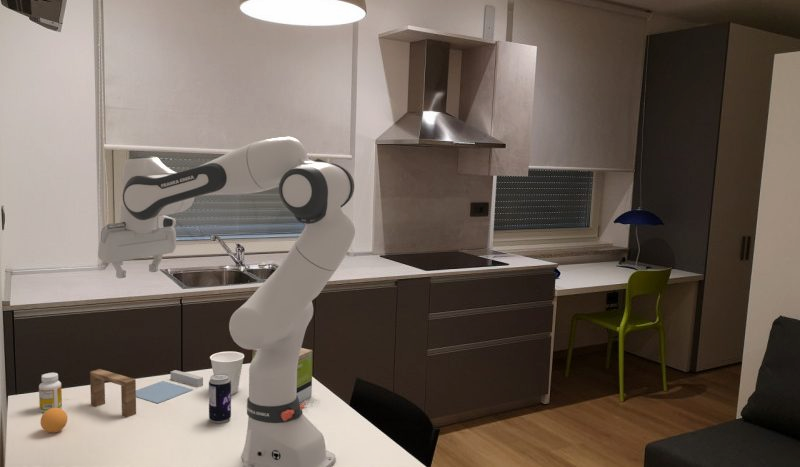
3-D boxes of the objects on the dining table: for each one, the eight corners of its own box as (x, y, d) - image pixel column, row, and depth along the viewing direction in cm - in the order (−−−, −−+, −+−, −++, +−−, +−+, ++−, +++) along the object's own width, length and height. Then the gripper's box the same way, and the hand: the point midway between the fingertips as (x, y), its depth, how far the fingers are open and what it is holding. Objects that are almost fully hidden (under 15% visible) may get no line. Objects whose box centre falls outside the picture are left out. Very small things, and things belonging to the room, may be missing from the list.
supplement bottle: (55, 403, 182) (54, 370, 181) (66, 408, 179) (64, 374, 178) (35, 409, 177) (34, 375, 176) (46, 414, 174) (44, 379, 173)
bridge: (136, 413, 177) (135, 379, 176) (126, 417, 174) (126, 382, 173) (100, 402, 184) (99, 368, 183) (90, 405, 182) (90, 371, 180)
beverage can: (224, 425, 171) (224, 381, 170) (205, 422, 172) (204, 379, 171) (234, 417, 177) (234, 374, 175) (215, 414, 178) (215, 372, 176)
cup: (207, 388, 197) (207, 353, 196) (240, 384, 201) (240, 350, 200) (212, 400, 188) (212, 363, 187) (247, 395, 192) (247, 359, 191)
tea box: (250, 397, 191) (251, 348, 189) (272, 387, 200) (273, 340, 198) (292, 408, 184) (292, 357, 182) (312, 397, 193) (313, 348, 191)
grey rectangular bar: (203, 385, 200) (203, 377, 199) (198, 387, 198) (198, 379, 198) (175, 377, 205) (175, 369, 205) (170, 379, 204) (170, 371, 203)
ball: (72, 430, 166) (72, 407, 165) (50, 438, 160) (49, 415, 160) (58, 424, 168) (57, 402, 168) (35, 432, 163) (34, 409, 163)
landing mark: (192, 389, 195) (192, 389, 195) (157, 403, 184) (157, 403, 184) (163, 381, 202) (162, 380, 202) (127, 394, 191) (127, 393, 190)
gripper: (110, 227, 150) (108, 284, 153) (181, 219, 168) (178, 271, 170) (93, 221, 153) (91, 278, 156) (164, 214, 171) (162, 265, 173)
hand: (137, 274), depth 163 cm, fingers open, 8 cm apart
